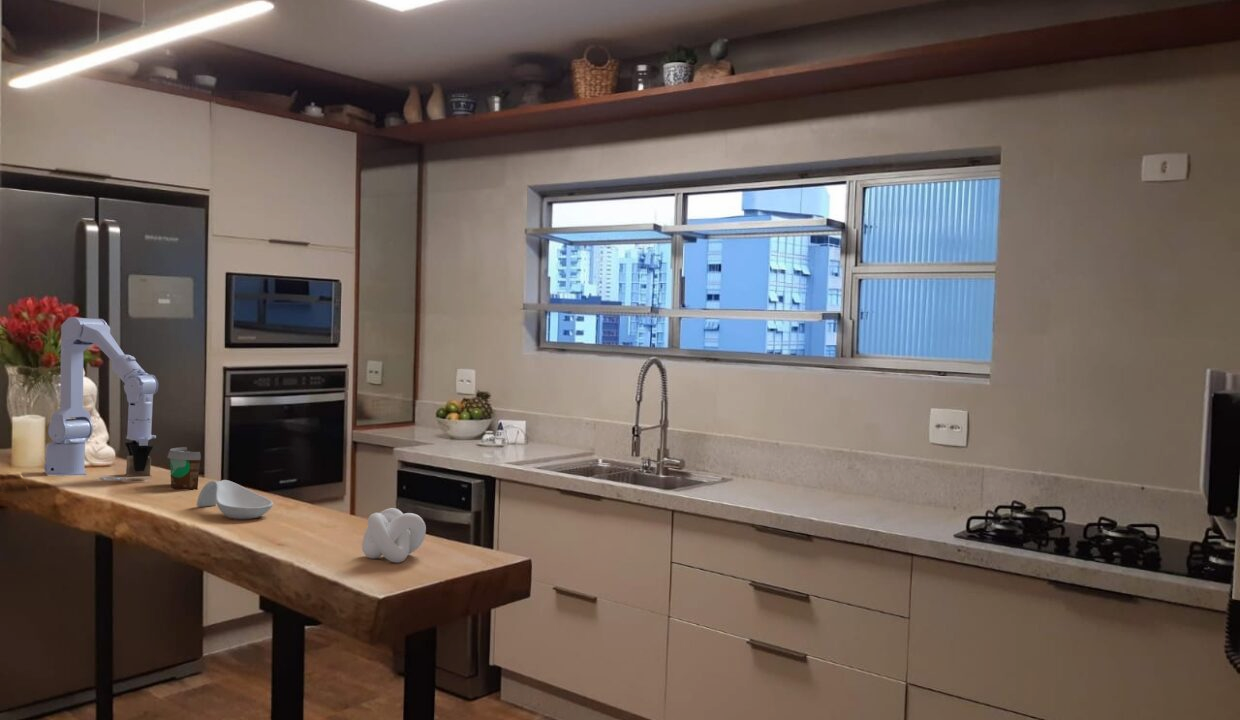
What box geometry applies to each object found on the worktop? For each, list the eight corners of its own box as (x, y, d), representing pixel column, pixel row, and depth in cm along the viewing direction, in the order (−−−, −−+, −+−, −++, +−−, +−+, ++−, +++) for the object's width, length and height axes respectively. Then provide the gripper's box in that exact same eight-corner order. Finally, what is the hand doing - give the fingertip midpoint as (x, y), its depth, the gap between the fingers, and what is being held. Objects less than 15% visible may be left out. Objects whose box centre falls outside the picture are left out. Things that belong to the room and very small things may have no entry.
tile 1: (102, 481, 242) (102, 480, 242) (99, 478, 247) (99, 477, 247) (127, 480, 245) (127, 479, 245) (123, 477, 250) (123, 476, 250)
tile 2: (128, 478, 250) (128, 476, 250) (125, 475, 255) (125, 474, 255) (152, 477, 254) (152, 476, 254) (148, 474, 258) (148, 473, 258)
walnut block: (128, 476, 241) (129, 458, 241) (126, 474, 245) (127, 455, 245) (149, 475, 244) (150, 457, 244) (146, 473, 248) (147, 455, 248)
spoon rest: (282, 519, 205) (284, 487, 205) (233, 525, 196) (234, 492, 196) (228, 504, 219) (229, 475, 219) (179, 509, 210) (181, 479, 210)
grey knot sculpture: (342, 557, 170) (344, 510, 170) (392, 548, 180) (394, 503, 180) (383, 568, 163) (385, 519, 163) (432, 557, 173) (434, 511, 173)
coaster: (124, 484, 239) (124, 482, 239) (120, 480, 245) (120, 478, 245) (154, 483, 243) (154, 481, 243) (149, 479, 249) (149, 477, 249)
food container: (160, 485, 241) (161, 447, 241) (184, 483, 245) (186, 447, 245) (174, 491, 232) (175, 453, 232) (199, 490, 236) (201, 452, 236)
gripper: (161, 421, 241) (159, 472, 241) (151, 417, 252) (149, 465, 252) (131, 421, 236) (129, 473, 237) (123, 417, 248) (121, 466, 248)
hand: (137, 469), depth 244 cm, fingers closed on walnut block, 5 cm apart
